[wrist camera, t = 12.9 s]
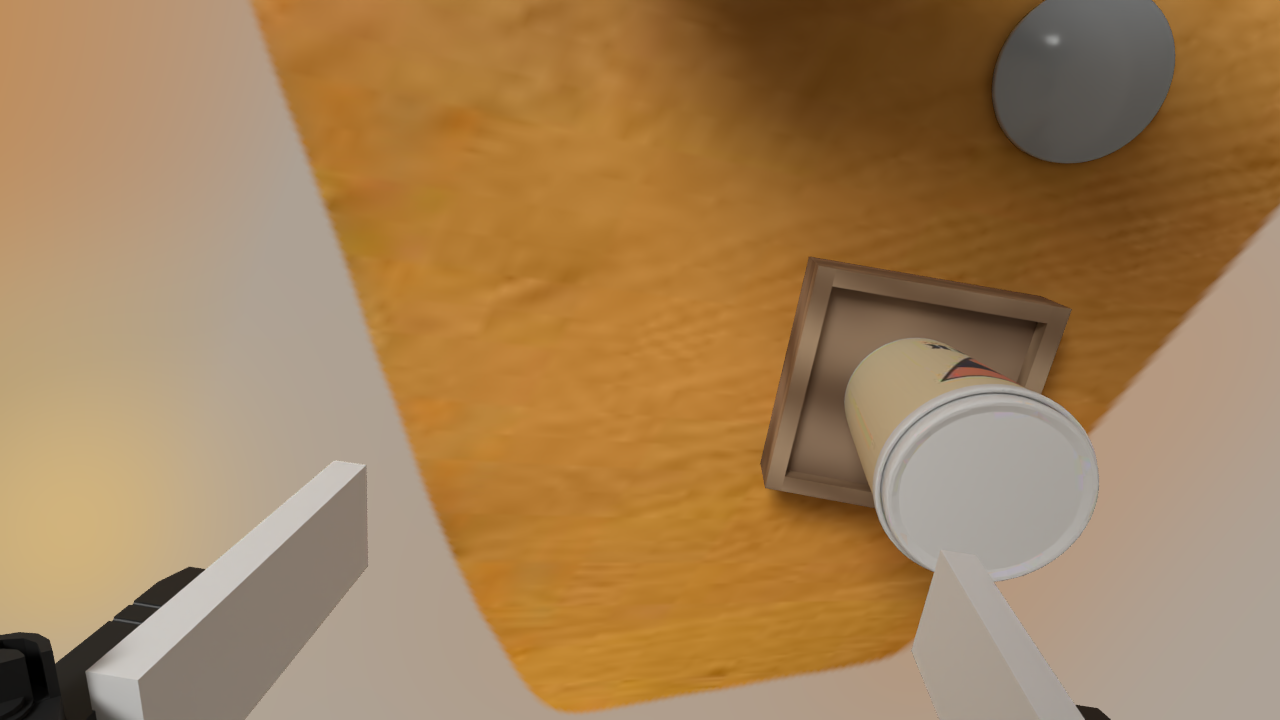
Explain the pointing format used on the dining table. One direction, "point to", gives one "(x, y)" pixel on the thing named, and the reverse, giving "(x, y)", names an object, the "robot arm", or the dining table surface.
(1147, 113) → the slate coaster
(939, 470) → the coffee cup
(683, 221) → the dining table surface
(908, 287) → the square wooden tray
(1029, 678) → the robot arm
